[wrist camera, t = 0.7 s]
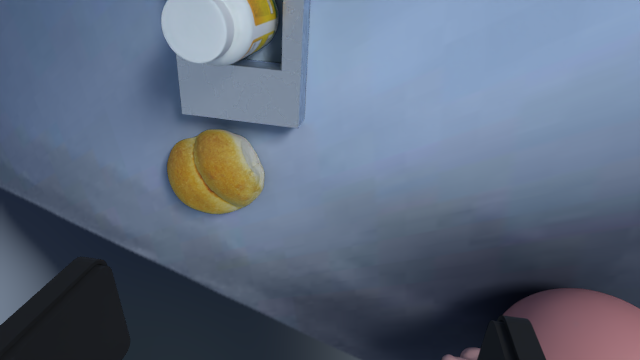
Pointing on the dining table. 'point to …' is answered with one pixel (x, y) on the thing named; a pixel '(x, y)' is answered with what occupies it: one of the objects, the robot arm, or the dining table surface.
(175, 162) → the bread roll
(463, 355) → the balloon
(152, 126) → the dining table surface
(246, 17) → the supplement bottle
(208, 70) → the grey board with squares
